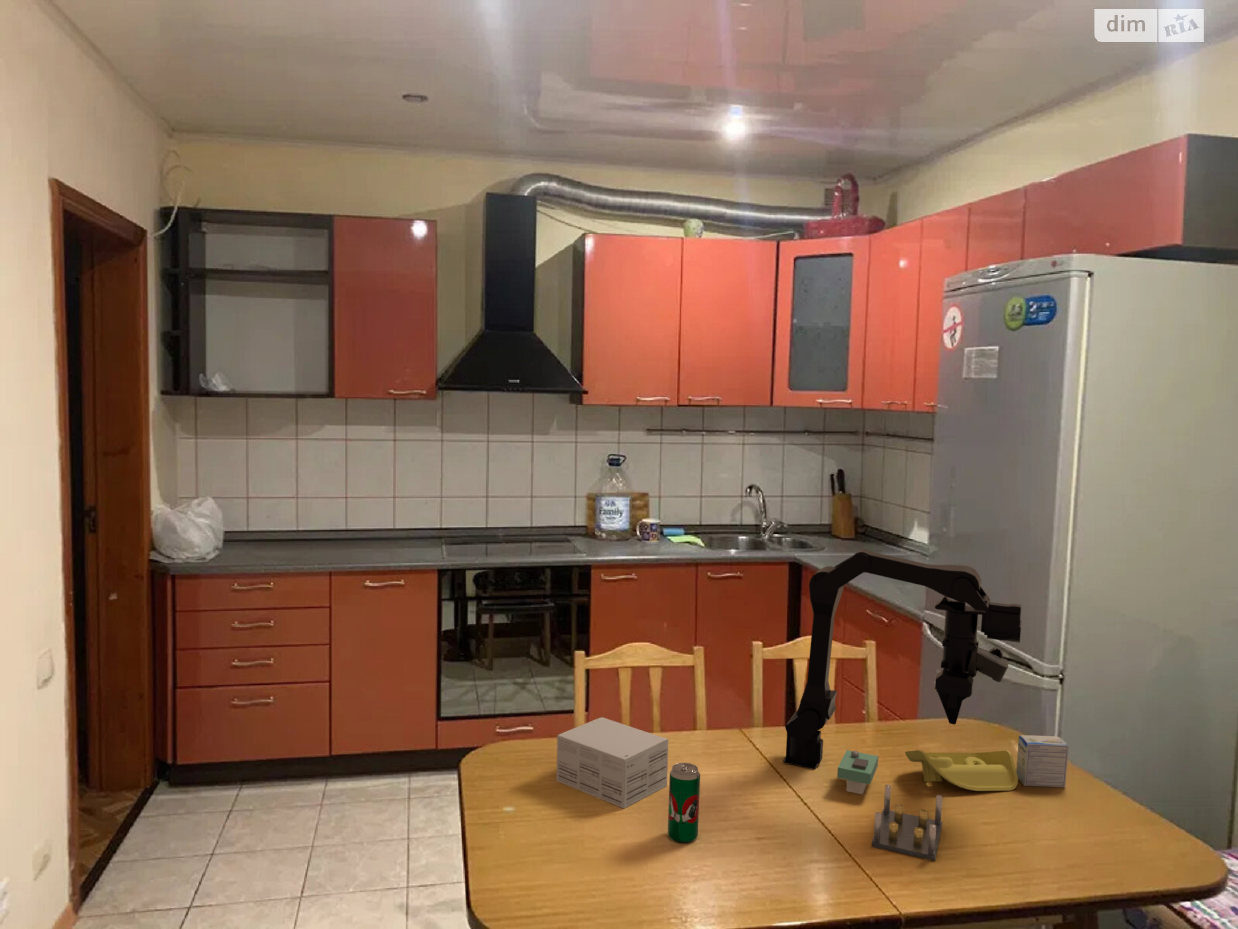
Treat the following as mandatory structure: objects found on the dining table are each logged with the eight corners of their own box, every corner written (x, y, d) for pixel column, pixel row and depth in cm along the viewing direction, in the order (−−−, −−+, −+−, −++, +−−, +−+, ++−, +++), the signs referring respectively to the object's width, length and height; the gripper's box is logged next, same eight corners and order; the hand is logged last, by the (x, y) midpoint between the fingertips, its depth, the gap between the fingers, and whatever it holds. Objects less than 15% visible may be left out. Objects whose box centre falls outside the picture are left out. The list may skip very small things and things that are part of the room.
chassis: (871, 846, 150) (873, 814, 149) (882, 813, 162) (884, 783, 161) (935, 861, 146) (937, 828, 145) (942, 825, 158) (944, 795, 157)
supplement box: (668, 786, 171) (670, 738, 170) (623, 810, 160) (625, 759, 160) (600, 760, 181) (602, 715, 180) (555, 781, 171) (556, 733, 170)
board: (837, 778, 169) (838, 763, 169) (846, 760, 177) (846, 746, 177) (870, 784, 166) (871, 770, 166) (877, 766, 175) (878, 752, 174)
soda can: (701, 833, 153) (703, 764, 152) (693, 847, 148) (696, 776, 147) (672, 827, 155) (674, 759, 153) (663, 841, 150) (666, 771, 149)
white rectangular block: (846, 791, 170) (847, 775, 170) (851, 780, 175) (852, 765, 175) (862, 794, 169) (863, 779, 169) (867, 783, 174) (868, 768, 174)
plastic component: (982, 753, 184) (1014, 750, 175) (988, 791, 182) (1021, 790, 173) (895, 752, 179) (924, 749, 170) (900, 792, 177) (929, 791, 168)
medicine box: (1055, 778, 178) (1058, 735, 178) (1066, 788, 174) (1069, 745, 173) (1015, 776, 179) (1018, 734, 178) (1024, 786, 174) (1027, 743, 173)
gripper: (1005, 654, 157) (999, 741, 159) (1008, 629, 174) (1003, 707, 175) (937, 644, 162) (932, 729, 163) (947, 620, 179) (942, 697, 180)
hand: (954, 715), depth 170 cm, fingers open, 9 cm apart
